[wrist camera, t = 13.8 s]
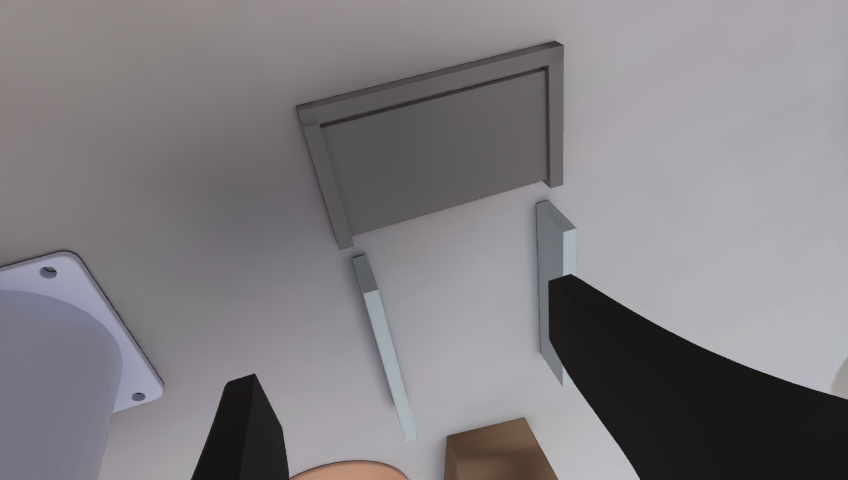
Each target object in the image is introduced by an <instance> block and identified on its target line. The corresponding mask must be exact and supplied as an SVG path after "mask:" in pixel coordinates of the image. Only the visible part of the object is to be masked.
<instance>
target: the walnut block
mask: <svg viewBox="0 0 848 480" xmlns="http://www.w3.org/2000/svg"><path fill="white" fill-rule="evenodd" d="M444 480H558V478H557V476H556V475H555V473H554V471H553V469H552V467H551V465H550V464H549V462H548V460H547V458H546V456H545V454H544V453H543V451H542V449H541V447H540V445H539V443H538V442H537V440H536V438H535V436H534V434H533V432H532V431H531V429H530V427H529V425H528V423H527V421H526V420H525V418H520V419H515V420H511V421H507V422H503V423H499V424H495V425H491V426H486V427H482V428H478V429H474V430H470V431H466V432H462V433H457V434H453V435H449V436H447V446H446V460H445V475H444Z"/></svg>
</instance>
